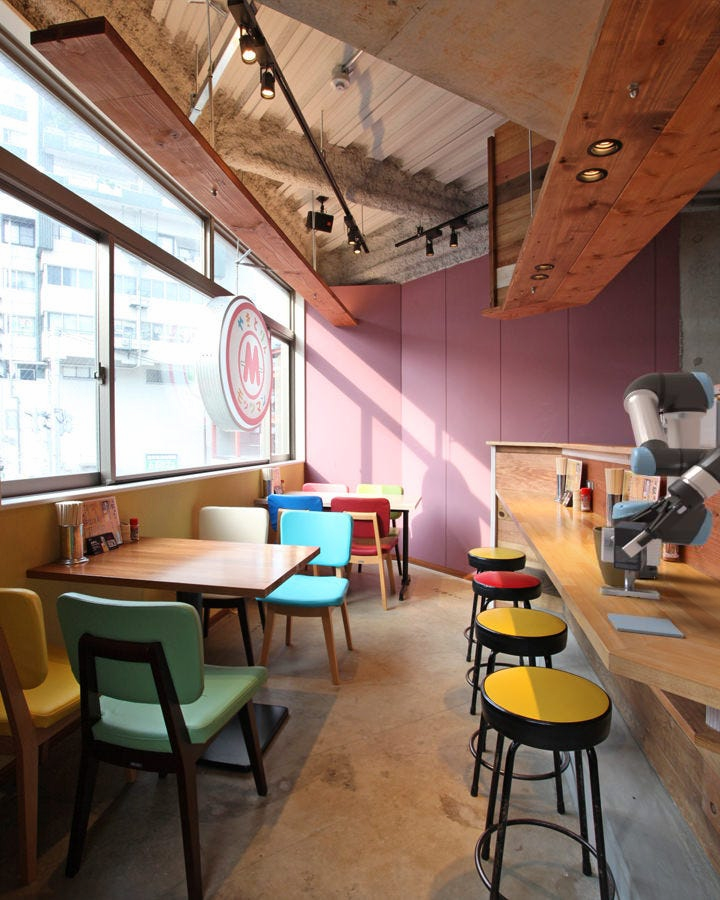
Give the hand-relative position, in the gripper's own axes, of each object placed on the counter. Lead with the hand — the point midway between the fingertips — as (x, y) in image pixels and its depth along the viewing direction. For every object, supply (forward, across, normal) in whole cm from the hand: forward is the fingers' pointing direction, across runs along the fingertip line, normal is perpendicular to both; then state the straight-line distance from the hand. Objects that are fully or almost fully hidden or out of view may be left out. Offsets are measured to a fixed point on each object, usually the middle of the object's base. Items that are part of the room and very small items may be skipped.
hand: (620, 547), depth 124 cm
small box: (+2, 0, -5) cm, 5 cm away
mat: (+9, -12, -13) cm, 19 cm away
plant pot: (+7, +24, -15) cm, 30 cm away
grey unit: (+7, +13, -15) cm, 21 cm away
